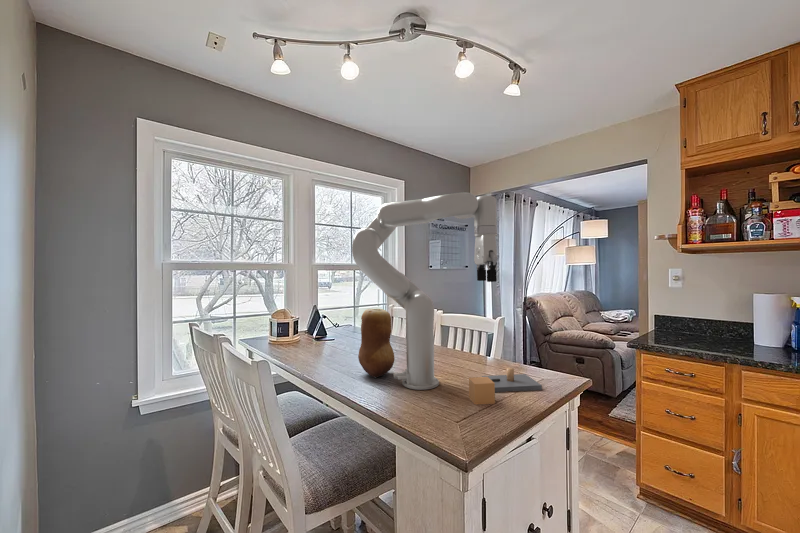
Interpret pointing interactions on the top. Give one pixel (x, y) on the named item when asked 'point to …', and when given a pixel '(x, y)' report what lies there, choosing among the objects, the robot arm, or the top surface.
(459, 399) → the top surface
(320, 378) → the top surface
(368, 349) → the butternut squash
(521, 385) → the plate
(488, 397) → the tan wooden cube
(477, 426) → the top surface
